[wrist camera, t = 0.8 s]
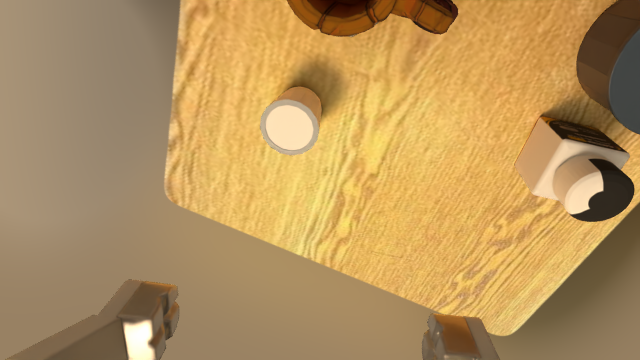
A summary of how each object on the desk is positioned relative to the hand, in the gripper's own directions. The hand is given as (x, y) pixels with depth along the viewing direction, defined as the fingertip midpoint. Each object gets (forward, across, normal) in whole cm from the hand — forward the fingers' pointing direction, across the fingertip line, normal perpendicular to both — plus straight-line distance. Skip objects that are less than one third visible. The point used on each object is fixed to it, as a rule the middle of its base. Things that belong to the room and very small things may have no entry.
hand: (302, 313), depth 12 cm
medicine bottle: (+37, -28, +4) cm, 46 cm away
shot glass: (+39, +4, +3) cm, 39 cm away
